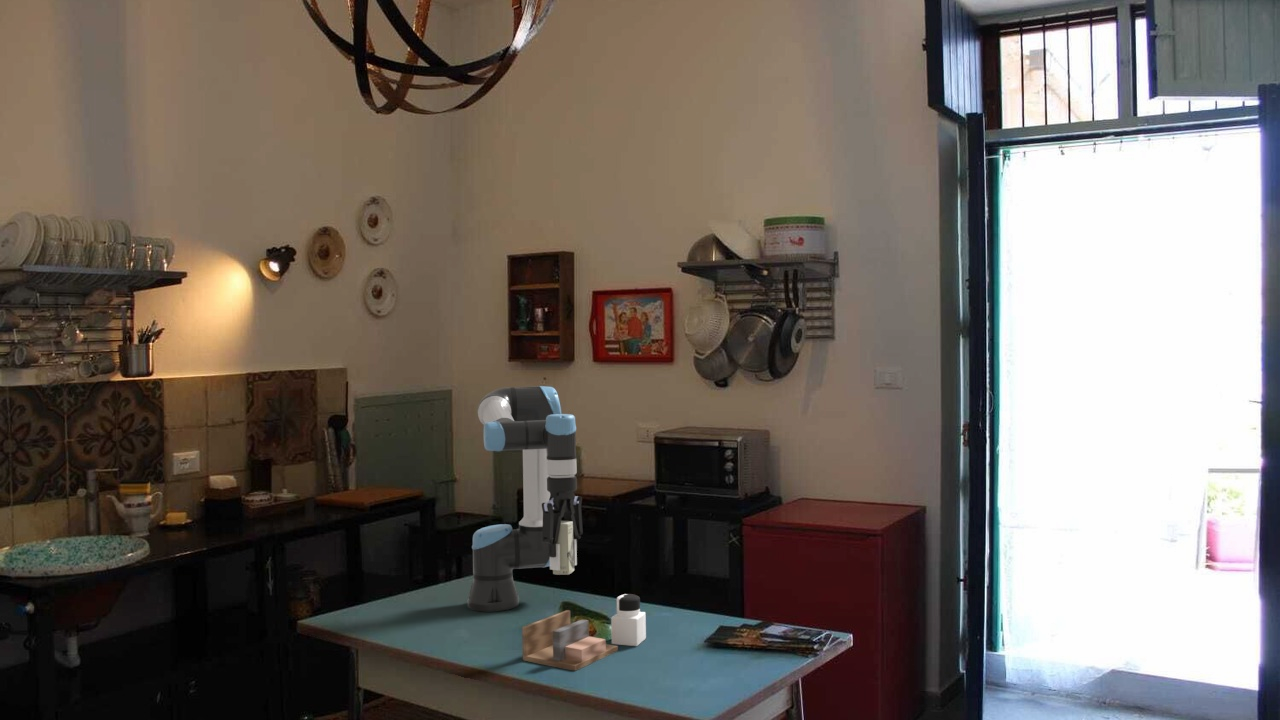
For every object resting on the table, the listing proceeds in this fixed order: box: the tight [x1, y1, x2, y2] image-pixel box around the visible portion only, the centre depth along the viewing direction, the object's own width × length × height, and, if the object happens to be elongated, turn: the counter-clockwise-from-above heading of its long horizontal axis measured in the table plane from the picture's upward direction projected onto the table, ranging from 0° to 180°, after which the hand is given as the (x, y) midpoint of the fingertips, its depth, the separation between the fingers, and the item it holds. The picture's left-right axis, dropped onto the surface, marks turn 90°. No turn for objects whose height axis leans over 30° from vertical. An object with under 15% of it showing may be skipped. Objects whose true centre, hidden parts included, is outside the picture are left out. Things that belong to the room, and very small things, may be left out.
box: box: [552, 520, 575, 576], centre depth 258 cm, size 5×4×13 cm
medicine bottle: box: [610, 593, 647, 647], centre depth 266 cm, size 7×7×12 cm
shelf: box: [521, 609, 619, 672], centre depth 255 cm, size 18×16×8 cm
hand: (563, 566), depth 258 cm, fingers closed on box, 6 cm apart
